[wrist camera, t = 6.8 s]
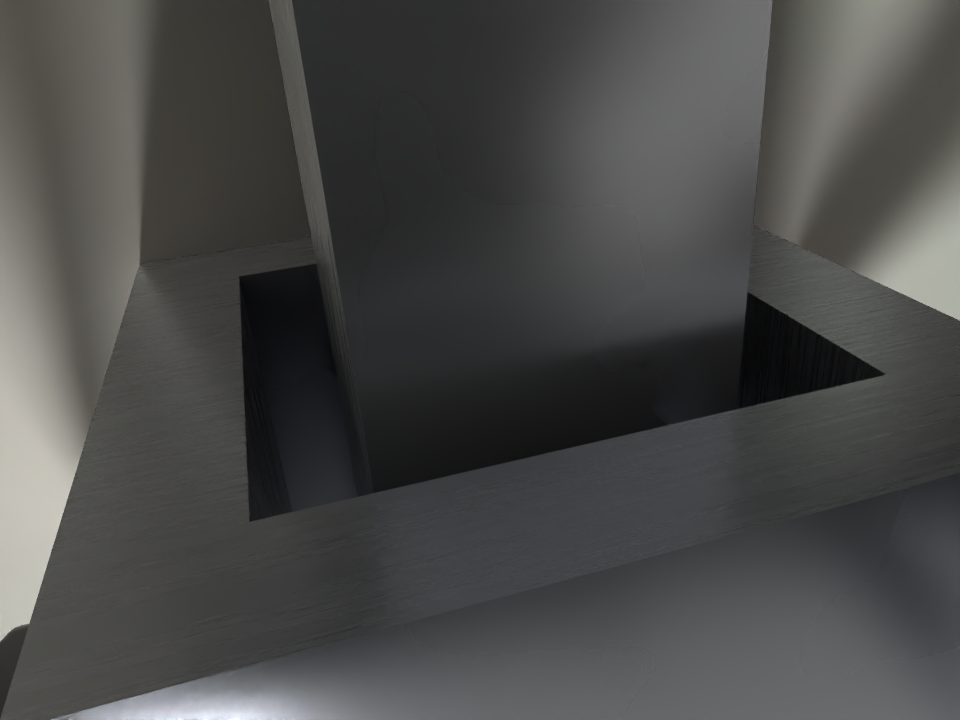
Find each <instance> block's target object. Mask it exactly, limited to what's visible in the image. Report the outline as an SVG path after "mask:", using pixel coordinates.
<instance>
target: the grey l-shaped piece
mask: <svg viewBox="0 0 960 720" xmlns="http://www.w3.org/2000/svg"><path fill="white" fill-rule="evenodd" d="M772 3H773V0H269V4H270V10H271V15H272V21H273V26H274V32H275V37H276V43H277V49H278V54H279V60H280V65H281V71H282V77H283V82H284V88H285V93H286V99H287V104H288V110H289V116H290V121H291V127H292V132H293V138H294V144H295V149H296V155H297V160H298V166H299V171H300V177H301V183H302V188H303V194H304V199H305V205H306V211H307V216H308V222H309V227H310V233H311V238H312V244H313V250H314V255H315V261H316V266H317V272H318V277H319V283H320V289H321V294H322V300H323V305H324V311H325V317H326V322H327V328H328V333H329V339H330V344H331V350H332V356H333V361H334V367H335V372H336V378H337V384H338V389H339V395H340V400H341V406H342V411H343V417H344V423H345V428H346V434H347V439H348V445H349V450H350V456H351V462H352V467H353V473H354V478H355V484H356V490H357V495H358V497H359V496H364V495H368V494H372V493H377V492H381V491H385V490H390V489H394V488H398V487H403V486H407V485H411V484H416V483H420V482H424V481H429V480H433V479H437V478H442V477H446V476H450V475H455V474H459V473H463V472H468V471H472V470H476V469H481V468H485V467H489V466H494V465H498V464H502V463H507V462H511V461H515V460H520V459H524V458H528V457H533V456H537V455H541V454H546V453H550V452H554V451H559V450H563V449H567V448H572V447H576V446H580V445H585V444H589V443H593V442H598V441H602V440H606V439H611V438H615V437H619V436H624V435H628V434H632V433H637V432H641V431H645V430H650V429H654V428H658V427H663V426H667V425H671V424H676V423H680V422H684V421H689V420H693V419H697V418H702V417H706V416H710V415H715V414H719V413H723V412H728V411H732V410H736V409H737V406H738V394H739V383H740V371H741V360H742V348H743V337H744V325H745V314H746V302H747V291H748V279H749V267H750V256H751V244H752V233H753V221H754V210H755V198H756V187H757V175H758V164H759V152H760V141H761V129H762V118H763V106H764V95H765V83H766V72H767V60H768V49H769V37H770V26H771V14H772Z"/></svg>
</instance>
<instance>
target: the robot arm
mask: <svg viewBox="0 0 960 720" xmlns="http://www.w3.org/2000/svg"><path fill="white" fill-rule="evenodd" d="M28 627H29V624H25V625H21V626H19V627H16V628H14V629H13V630H11V631H10V632H9V633H8V634H7V635H6V636H5V637H4V638H3V639H2V640H1V641H0V718H1V715H2V711H3V708H4V705H5V702H6V698H7V695H8V692H9V689H10V685H11V682H12V679H13V676H14V672H15V669H16V666H17V662H18V659H19V656H20V653H21V649H22V646H23V643H24V640H25V636H26V633H27V630H28Z"/></svg>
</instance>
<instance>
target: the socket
mask: <svg viewBox="0 0 960 720" xmlns="http://www.w3.org/2000/svg"><path fill="white" fill-rule="evenodd" d="M0 720H960V321H959V320H957V319H955V318H953V317H951V316H949V315H946V314H944V313H942V312H940V311H938V310H936V309H933V308H931V307H929V306H927V305H925V304H923V303H921V302H918V301H916V300H914V299H912V298H910V297H908V296H905V295H903V294H901V293H899V292H897V291H895V290H892V289H890V288H888V287H886V286H884V285H882V284H880V283H877V282H875V281H873V280H871V279H869V278H867V277H864V276H862V275H860V274H858V273H856V272H854V271H851V270H849V269H847V268H845V267H843V266H841V265H839V264H836V263H834V262H832V261H830V260H828V259H826V258H823V257H821V256H819V255H817V254H815V253H813V252H810V251H808V250H806V249H804V248H802V247H800V246H798V245H795V244H793V243H791V242H789V241H787V240H785V239H782V238H780V237H778V236H776V235H774V234H772V233H769V232H767V231H765V230H763V229H761V228H759V227H757V226H754V225H753V233H752V244H751V256H750V267H749V279H748V291H747V302H746V314H745V325H744V337H743V348H742V360H741V371H740V383H739V394H738V406H737V409H736V410H732V411H728V412H723V413H719V414H715V415H710V416H706V417H702V418H697V419H693V420H689V421H684V422H680V423H676V424H671V425H667V426H663V427H658V428H654V429H650V430H645V431H641V432H637V433H632V434H628V435H624V436H619V437H615V438H611V439H606V440H602V441H598V442H593V443H589V444H585V445H580V446H576V447H572V448H567V449H563V450H559V451H554V452H550V453H546V454H541V455H537V456H533V457H528V458H524V459H520V460H515V461H511V462H507V463H502V464H498V465H494V466H489V467H485V468H481V469H476V470H472V471H468V472H463V473H459V474H455V475H450V476H446V477H442V478H437V479H433V480H429V481H424V482H420V483H416V484H411V485H407V486H403V487H398V488H394V489H390V490H385V491H381V492H377V493H372V494H368V495H364V496H359V497H358V495H357V490H356V484H355V478H354V473H353V467H352V462H351V456H350V450H349V445H348V439H347V434H346V428H345V423H344V417H343V411H342V406H341V400H340V395H339V389H338V384H337V378H336V372H335V367H334V361H333V356H332V350H331V344H330V339H329V333H328V328H327V322H326V317H325V311H324V305H323V300H322V294H321V289H320V283H319V277H318V272H317V266H316V261H315V255H314V250H313V244H312V238H311V237H309V238H303V239H296V240H290V241H283V242H277V243H270V244H264V245H258V246H251V247H245V248H238V249H232V250H226V251H219V252H213V253H206V254H200V255H194V256H187V257H181V258H174V259H168V260H162V261H155V262H149V263H142V264H140V265H139V268H138V271H137V274H136V278H135V281H134V284H133V287H132V291H131V294H130V297H129V301H128V304H127V307H126V310H125V314H124V317H123V320H122V323H121V327H120V330H119V333H118V336H117V340H116V343H115V346H114V349H113V353H112V356H111V359H110V362H109V366H108V369H107V372H106V376H105V379H104V382H103V385H102V389H101V392H100V395H99V398H98V402H97V405H96V408H95V411H94V415H93V418H92V421H91V424H90V428H89V431H88V434H87V437H86V441H85V444H84V447H83V451H82V454H81V457H80V460H79V464H78V467H77V470H76V473H75V477H74V480H73V483H72V486H71V490H70V493H69V496H68V499H67V503H66V506H65V509H64V512H63V516H62V519H61V522H60V526H59V529H58V532H57V535H56V539H55V542H54V545H53V548H52V552H51V555H50V558H49V561H48V565H47V568H46V571H45V574H44V578H43V581H42V584H41V587H40V591H39V594H38V597H37V601H36V604H35V607H34V610H33V614H32V617H31V620H30V623H29V627H28V630H27V633H26V636H25V640H24V643H23V646H22V649H21V653H20V656H19V659H18V662H17V666H16V669H15V672H14V676H13V679H12V682H11V685H10V689H9V692H8V695H7V698H6V702H5V705H4V708H3V711H2V715H1V718H0Z"/></svg>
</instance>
